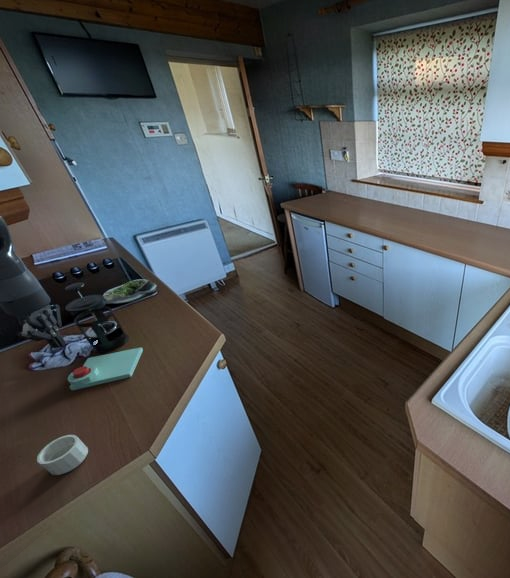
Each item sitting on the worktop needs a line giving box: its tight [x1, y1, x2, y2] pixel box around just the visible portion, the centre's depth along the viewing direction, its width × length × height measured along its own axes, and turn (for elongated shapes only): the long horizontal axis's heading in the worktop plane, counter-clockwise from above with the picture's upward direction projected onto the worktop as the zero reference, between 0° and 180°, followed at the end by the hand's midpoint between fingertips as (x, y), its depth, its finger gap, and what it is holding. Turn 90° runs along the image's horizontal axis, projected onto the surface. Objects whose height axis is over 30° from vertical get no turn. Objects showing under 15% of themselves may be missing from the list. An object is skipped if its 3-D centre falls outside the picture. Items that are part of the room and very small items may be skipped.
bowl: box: [36, 434, 89, 476], centre depth 65 cm, size 6×6×5 cm
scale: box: [66, 347, 144, 391], centre depth 88 cm, size 15×12×3 cm
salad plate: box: [102, 278, 158, 305], centre depth 122 cm, size 19×18×5 cm
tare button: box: [71, 365, 90, 378], centre depth 83 cm, size 3×3×2 cm
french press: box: [64, 282, 130, 354], centre depth 93 cm, size 12×9×23 cm
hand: (59, 345), depth 77 cm, fingers closed
